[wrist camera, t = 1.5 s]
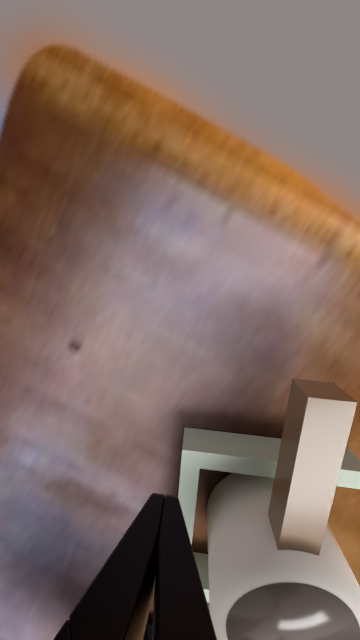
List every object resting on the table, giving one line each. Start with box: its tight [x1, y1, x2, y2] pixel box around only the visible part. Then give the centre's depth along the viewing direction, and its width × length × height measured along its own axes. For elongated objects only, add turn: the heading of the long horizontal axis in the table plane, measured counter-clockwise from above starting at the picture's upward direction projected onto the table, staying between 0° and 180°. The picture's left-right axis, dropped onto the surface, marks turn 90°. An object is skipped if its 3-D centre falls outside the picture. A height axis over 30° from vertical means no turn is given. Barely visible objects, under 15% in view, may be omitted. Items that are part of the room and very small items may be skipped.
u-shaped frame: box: [178, 427, 360, 602], centre depth 17 cm, size 12×11×2 cm
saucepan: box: [207, 379, 360, 640], centre depth 14 cm, size 16×8×6 cm, turn 176°
